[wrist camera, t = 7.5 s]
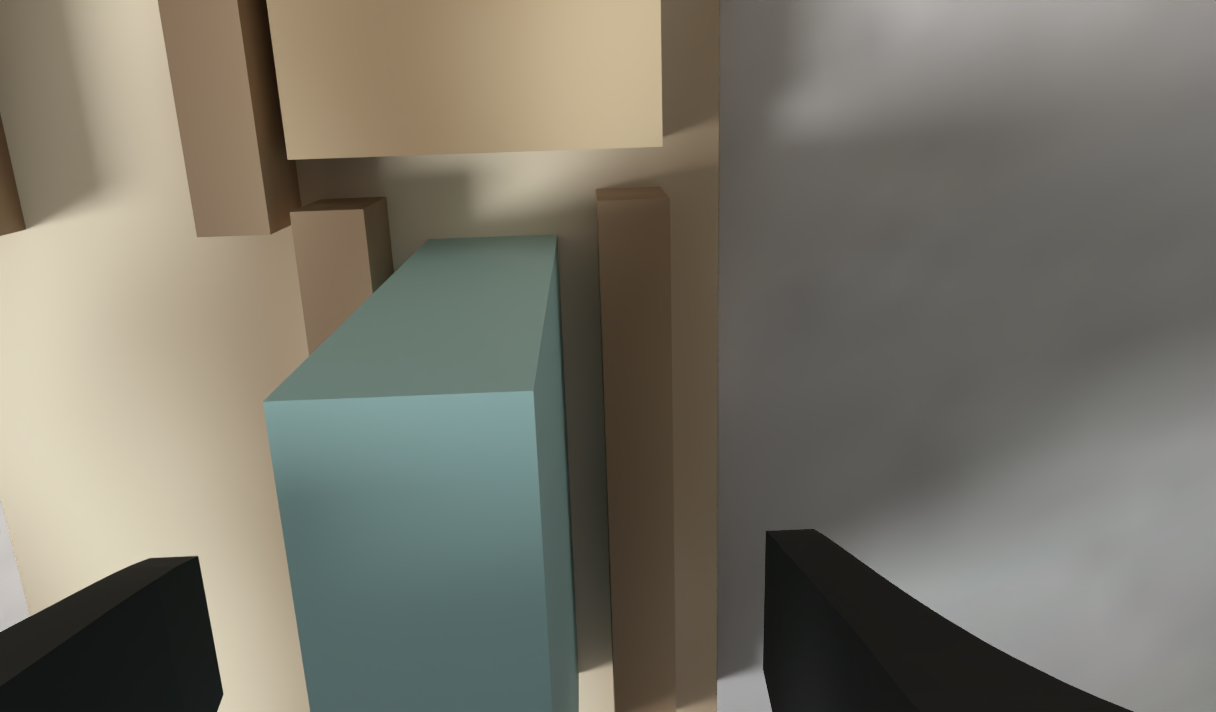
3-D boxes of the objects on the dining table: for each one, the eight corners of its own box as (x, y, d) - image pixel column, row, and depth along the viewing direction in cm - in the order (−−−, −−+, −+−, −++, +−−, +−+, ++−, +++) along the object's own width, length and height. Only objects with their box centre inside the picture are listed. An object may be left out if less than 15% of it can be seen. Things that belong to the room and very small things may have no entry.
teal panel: (557, 233, 14) (534, 390, 7) (578, 673, 16) (578, 1143, 9) (428, 239, 14) (263, 401, 7) (468, 678, 16) (377, 1156, 9)
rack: (710, -514, 12) (742, -665, 10) (709, 684, 17) (730, 779, 15) (-196, -496, 12) (-395, -647, 9) (92, 713, 17) (13, 814, 15)
